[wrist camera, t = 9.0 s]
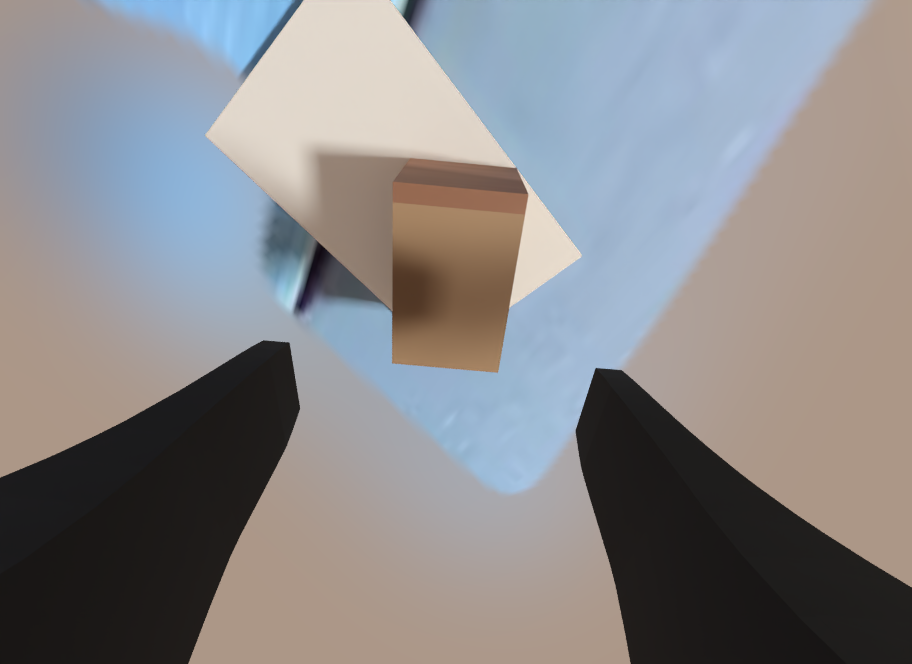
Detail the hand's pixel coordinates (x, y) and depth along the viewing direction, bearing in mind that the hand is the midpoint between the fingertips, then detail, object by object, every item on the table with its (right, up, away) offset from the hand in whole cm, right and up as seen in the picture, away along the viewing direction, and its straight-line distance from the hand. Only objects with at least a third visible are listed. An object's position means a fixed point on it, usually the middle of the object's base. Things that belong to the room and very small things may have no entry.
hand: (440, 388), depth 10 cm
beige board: (-2, +7, +7) cm, 10 cm away
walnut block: (0, +5, +7) cm, 9 cm away
